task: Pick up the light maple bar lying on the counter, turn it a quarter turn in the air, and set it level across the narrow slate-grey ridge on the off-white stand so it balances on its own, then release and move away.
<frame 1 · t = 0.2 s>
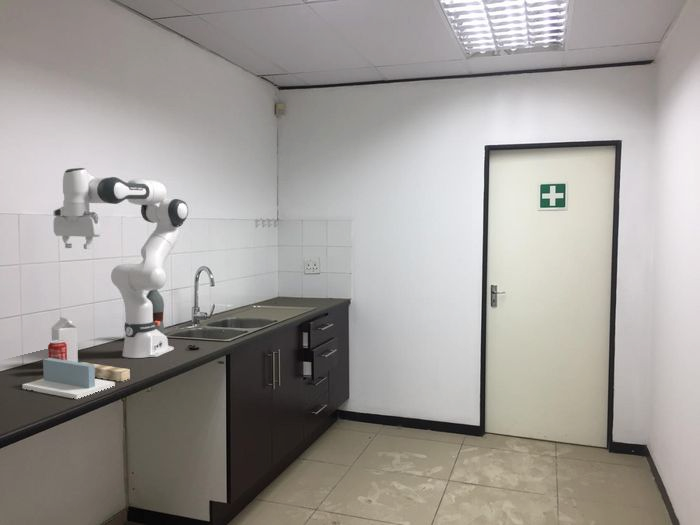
hand: (77, 248, 219), 47 cm above the table, tool pointing down, fingers open, 8 cm apart
ridge stand: (69, 387, 203), on the table
beverage can: (58, 372, 222), on the table
milk carton: (65, 365, 233), on the table
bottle: (154, 340, 280), on the table
maple bar: (101, 377, 217), on the table
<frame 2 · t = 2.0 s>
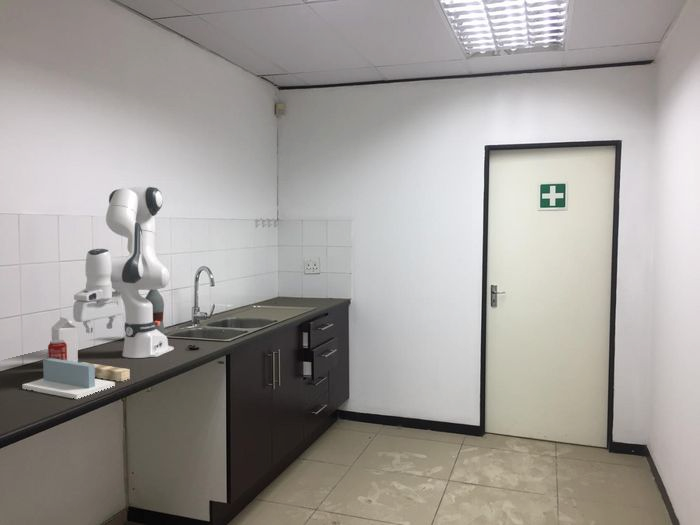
hand: (99, 330, 216), 17 cm above the table, tool pointing down, fingers open, 8 cm apart
nothing on the table moved.
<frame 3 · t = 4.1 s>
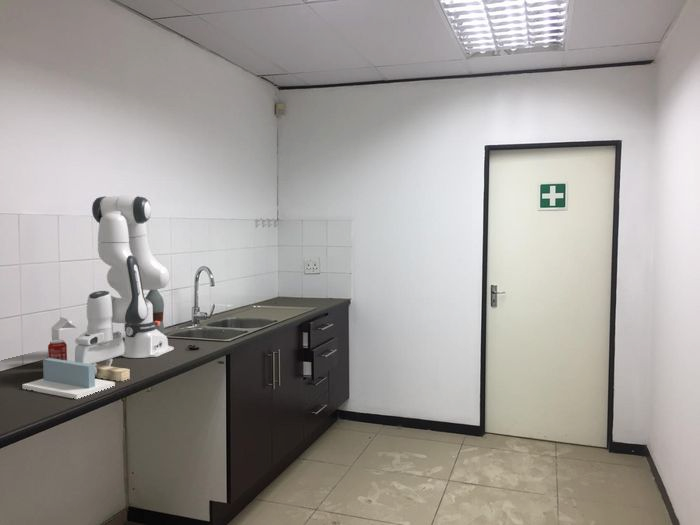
hand: (101, 372, 217), 2 cm above the table, tool pointing down, fingers closed on maple bar, 4 cm apart
maple bar: (101, 377, 217), on the table, touching gripper
everything else where it was.
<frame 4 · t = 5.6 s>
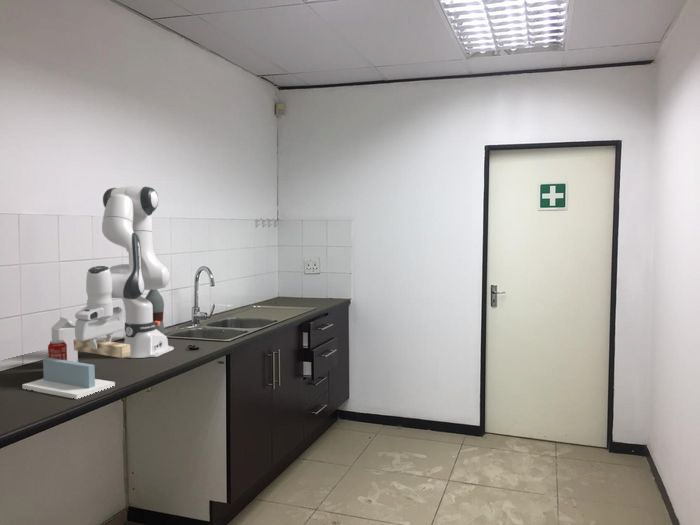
hand: (101, 347, 217), 11 cm above the table, tool pointing down, fingers closed on maple bar, 4 cm apart
maple bar: (101, 352, 217), point 9 cm above the table, touching gripper
everything else where it was.
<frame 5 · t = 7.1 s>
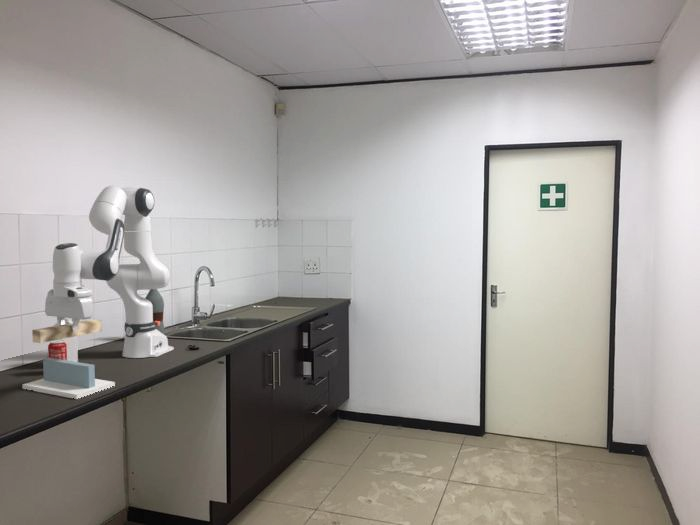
hand: (68, 330, 202), 20 cm above the table, tool pointing down, fingers closed on maple bar, 4 cm apart
maple bar: (68, 336, 202), point 18 cm above the table, touching gripper
everything else where it was.
when the fingers open (12 cm above the table, at t = 9.0 s): maple bar stays where it is, resting on ridge stand.
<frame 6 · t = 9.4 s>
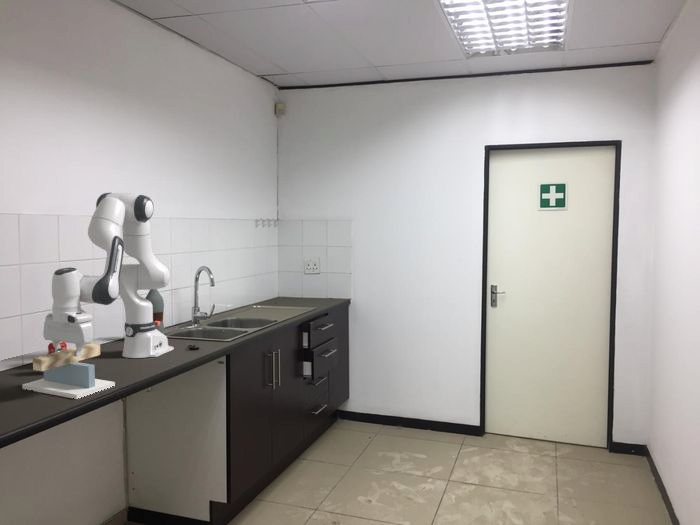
hand: (68, 354, 202), 12 cm above the table, tool pointing down, fingers open, 8 cm apart
maple bar: (68, 362, 203), point 9 cm above the table, touching ridge stand
everything else where it was.
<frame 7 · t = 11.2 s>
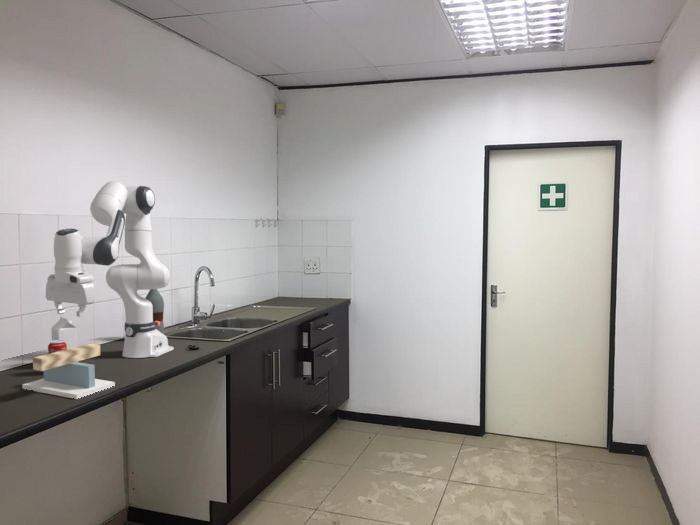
hand: (70, 315, 204), 25 cm above the table, tool pointing down, fingers open, 8 cm apart
nothing on the table moved.
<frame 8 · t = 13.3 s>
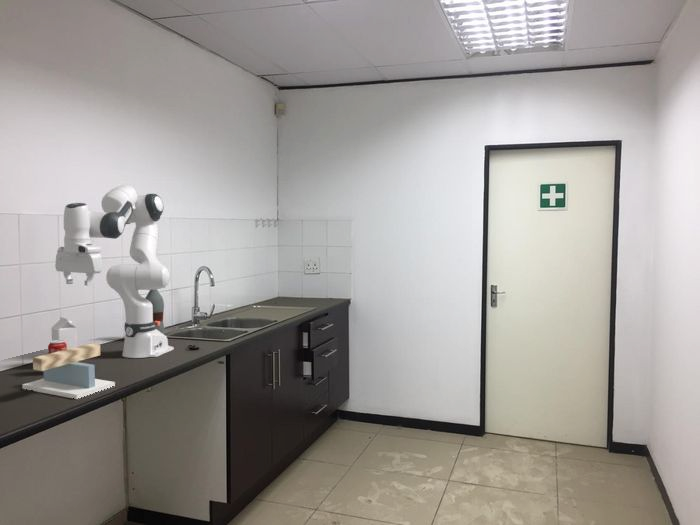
hand: (78, 284, 216), 34 cm above the table, tool pointing down, fingers open, 8 cm apart
nothing on the table moved.
at the end: maple bar inside the target area on the ridge stand (0.1 cm from its centre), point 9.0 cm above the ridge stand's base; maple bar tilted 0°; the gripper is holding nothing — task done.
